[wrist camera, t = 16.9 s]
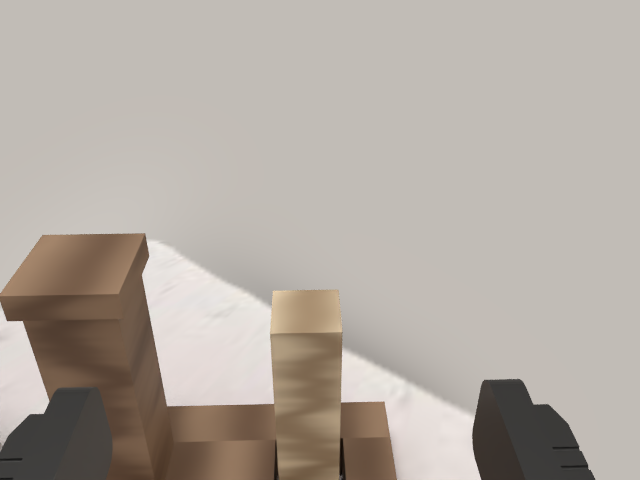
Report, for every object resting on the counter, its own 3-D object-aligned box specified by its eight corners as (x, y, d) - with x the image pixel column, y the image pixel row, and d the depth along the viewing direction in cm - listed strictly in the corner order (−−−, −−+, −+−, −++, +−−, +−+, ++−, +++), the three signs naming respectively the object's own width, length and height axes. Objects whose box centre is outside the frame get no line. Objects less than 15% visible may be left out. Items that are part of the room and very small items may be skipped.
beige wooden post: (281, 529, 42) (270, 333, 33) (283, 480, 46) (273, 290, 36) (338, 527, 42) (342, 332, 33) (335, 479, 46) (338, 289, 36)
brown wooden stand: (72, 592, 39) (-30, 335, 27) (120, 442, 49) (60, 210, 38) (402, 582, 39) (435, 326, 28) (381, 436, 49) (399, 205, 38)
